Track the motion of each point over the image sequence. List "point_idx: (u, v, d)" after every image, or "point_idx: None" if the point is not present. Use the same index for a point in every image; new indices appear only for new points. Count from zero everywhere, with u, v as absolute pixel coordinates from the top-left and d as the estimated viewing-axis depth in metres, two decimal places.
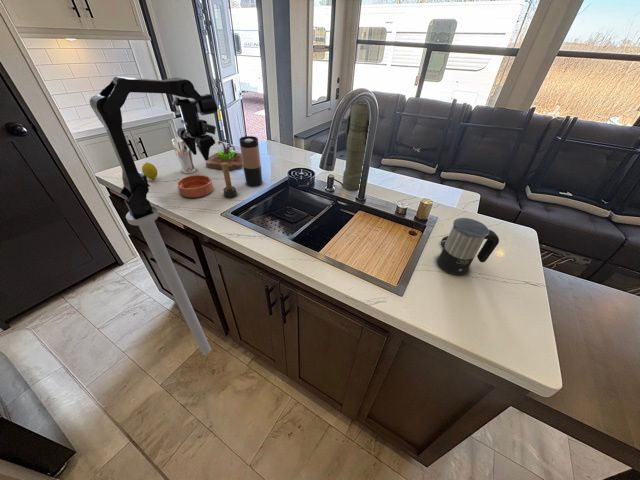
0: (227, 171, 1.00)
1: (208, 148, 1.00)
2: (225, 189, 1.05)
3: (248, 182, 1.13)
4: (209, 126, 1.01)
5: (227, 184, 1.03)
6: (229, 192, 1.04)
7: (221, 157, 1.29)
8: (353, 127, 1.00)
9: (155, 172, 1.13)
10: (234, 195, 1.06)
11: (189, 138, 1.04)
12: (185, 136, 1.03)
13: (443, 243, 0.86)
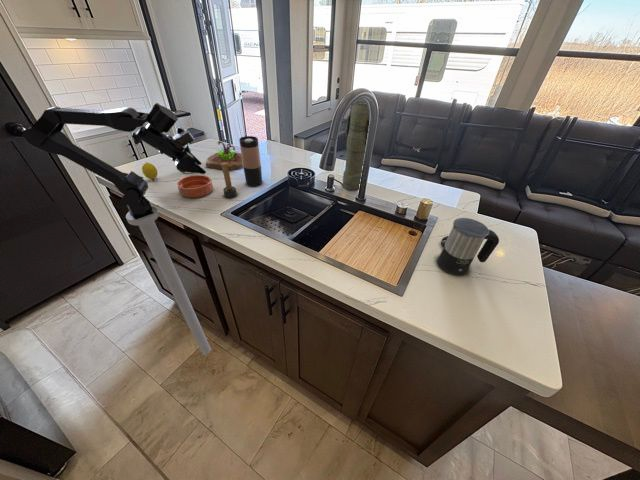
0: (227, 171, 1.00)
1: (194, 164, 0.88)
2: (225, 189, 1.05)
3: (248, 182, 1.13)
4: (181, 138, 0.85)
5: (227, 184, 1.03)
6: (229, 192, 1.04)
7: (221, 157, 1.29)
8: (353, 127, 1.00)
9: (155, 172, 1.13)
10: (234, 195, 1.06)
11: None
12: None
13: (443, 243, 0.86)
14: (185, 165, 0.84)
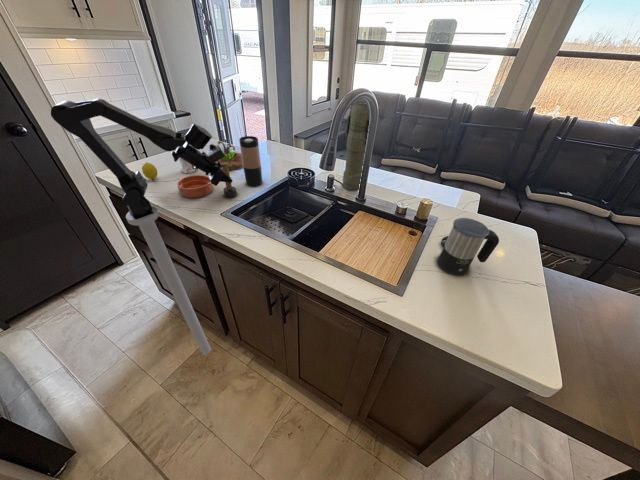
0: (227, 171, 1.00)
1: None
2: (225, 189, 1.05)
3: (248, 182, 1.13)
4: (214, 154, 0.93)
5: (227, 184, 1.03)
6: (229, 192, 1.04)
7: None
8: (353, 127, 1.00)
9: (155, 172, 1.13)
10: (234, 195, 1.06)
11: None
12: None
13: (443, 243, 0.86)
14: (218, 179, 0.92)
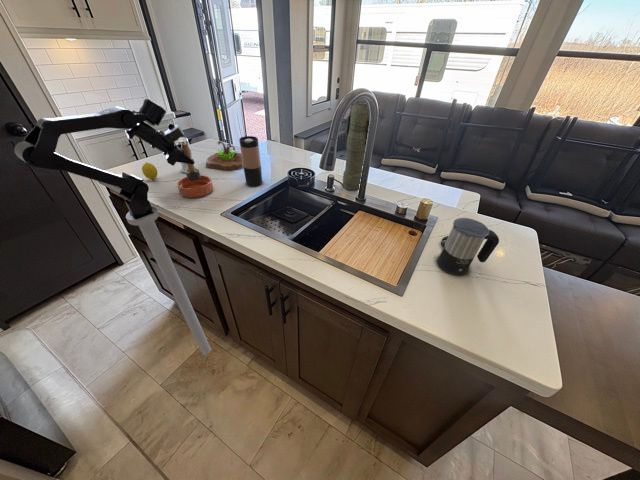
0: (188, 152, 0.98)
1: (183, 154, 0.96)
2: (188, 171, 1.03)
3: (248, 182, 1.13)
4: (172, 133, 0.91)
5: (188, 166, 1.01)
6: (191, 174, 1.01)
7: (221, 157, 1.29)
8: (353, 127, 1.00)
9: (155, 172, 1.13)
10: (197, 178, 1.04)
11: None
12: None
13: (443, 243, 0.86)
14: (175, 159, 0.89)
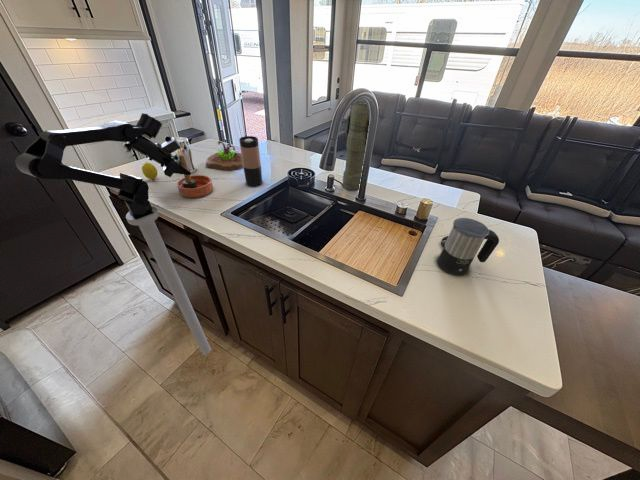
0: (184, 163, 1.00)
1: (180, 166, 0.98)
2: (184, 182, 1.05)
3: (248, 182, 1.13)
4: (168, 145, 0.93)
5: (185, 177, 1.03)
6: (188, 184, 1.04)
7: (221, 157, 1.29)
8: (353, 127, 1.00)
9: (155, 172, 1.13)
10: None
11: None
12: None
13: (443, 243, 0.86)
14: (172, 170, 0.92)
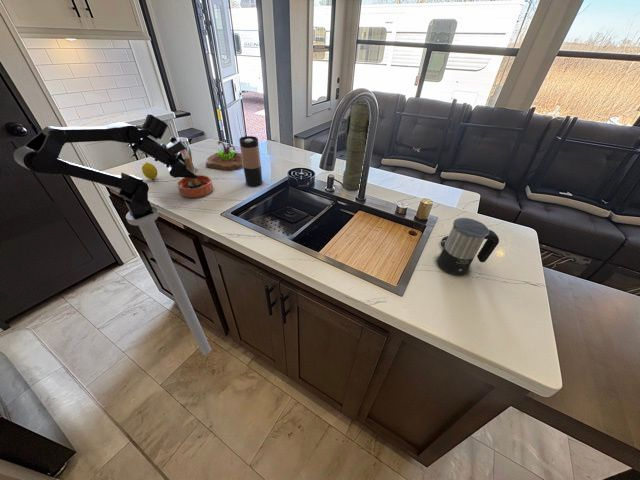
0: (190, 165, 1.01)
1: (186, 170, 0.96)
2: (190, 183, 1.06)
3: (248, 182, 1.13)
4: (174, 146, 0.93)
5: (191, 179, 1.04)
6: (193, 186, 1.05)
7: (221, 157, 1.29)
8: (353, 127, 1.00)
9: (155, 172, 1.13)
10: None
11: None
12: None
13: (443, 243, 0.86)
14: (177, 171, 0.92)
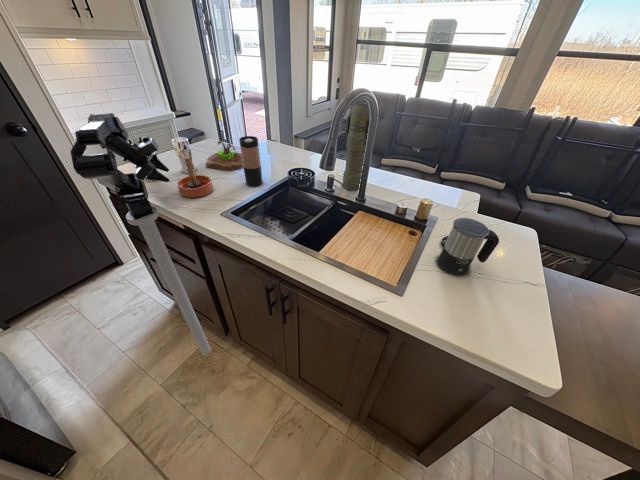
0: (190, 165, 1.01)
1: (156, 172, 0.92)
2: (190, 183, 1.06)
3: (248, 182, 1.13)
4: (144, 147, 0.89)
5: (191, 179, 1.04)
6: (193, 186, 1.05)
7: (221, 157, 1.29)
8: (353, 127, 1.00)
9: None
10: None
11: (151, 160, 0.99)
12: None
13: (443, 243, 0.86)
14: (145, 174, 0.88)
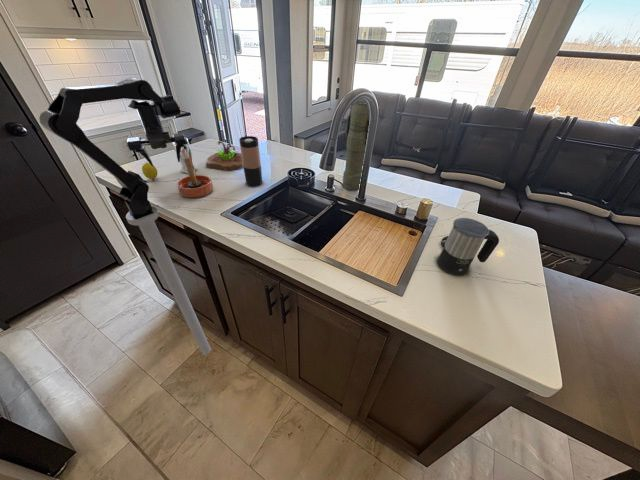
0: (190, 165, 1.01)
1: None
2: (190, 183, 1.06)
3: (248, 182, 1.13)
4: (147, 137, 0.87)
5: (191, 179, 1.04)
6: (193, 186, 1.05)
7: (221, 157, 1.29)
8: (353, 127, 1.00)
9: (155, 172, 1.13)
10: None
11: (175, 144, 0.97)
12: None
13: (443, 243, 0.86)
14: None
